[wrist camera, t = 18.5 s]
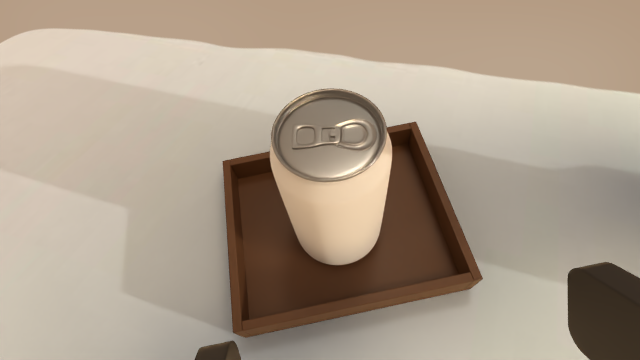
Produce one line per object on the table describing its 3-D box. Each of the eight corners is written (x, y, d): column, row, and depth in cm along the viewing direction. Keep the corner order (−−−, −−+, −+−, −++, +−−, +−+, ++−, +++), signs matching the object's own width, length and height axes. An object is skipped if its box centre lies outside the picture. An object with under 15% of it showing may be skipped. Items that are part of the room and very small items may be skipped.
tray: (411, 141, 32) (416, 121, 29) (470, 288, 25) (483, 279, 22) (232, 178, 31) (222, 160, 29) (244, 338, 25) (232, 333, 22)
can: (383, 267, 26) (403, 187, 15) (294, 268, 26) (255, 192, 16) (376, 188, 29) (390, 78, 18) (298, 190, 29) (267, 85, 19)
